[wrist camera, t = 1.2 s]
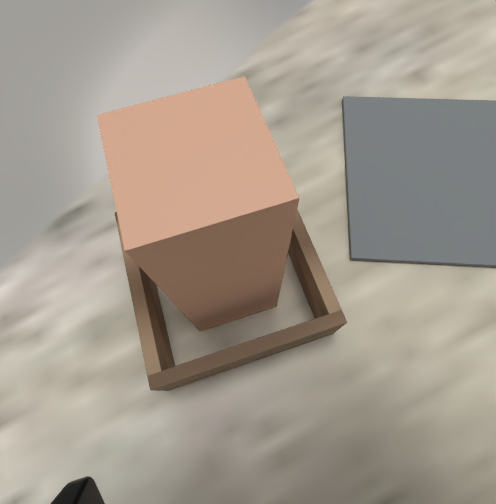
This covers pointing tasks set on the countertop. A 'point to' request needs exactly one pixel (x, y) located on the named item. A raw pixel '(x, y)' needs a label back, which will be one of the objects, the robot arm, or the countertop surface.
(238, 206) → the terracotta block
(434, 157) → the rubber mat
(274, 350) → the wooden frame
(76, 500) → the robot arm
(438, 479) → the countertop surface
